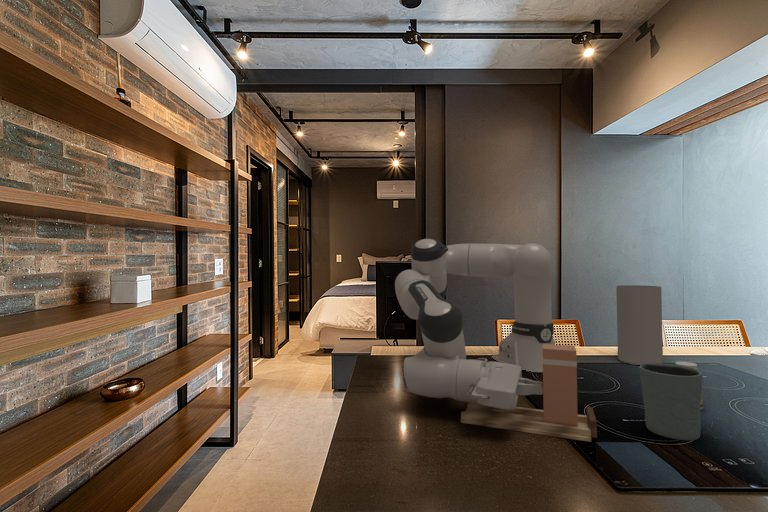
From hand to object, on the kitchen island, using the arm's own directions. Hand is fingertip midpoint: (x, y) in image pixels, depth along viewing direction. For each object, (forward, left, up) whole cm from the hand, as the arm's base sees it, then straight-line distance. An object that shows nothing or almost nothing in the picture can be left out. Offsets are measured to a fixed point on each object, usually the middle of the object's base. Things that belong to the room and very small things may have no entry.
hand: (543, 388), depth 79 cm
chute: (-2, -3, -7) cm, 8 cm away
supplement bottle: (+2, +38, -8) cm, 39 cm away
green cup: (+10, +22, -8) cm, 25 cm away
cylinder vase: (-32, +65, -8) cm, 73 cm away
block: (+2, +2, -7) cm, 7 cm away
